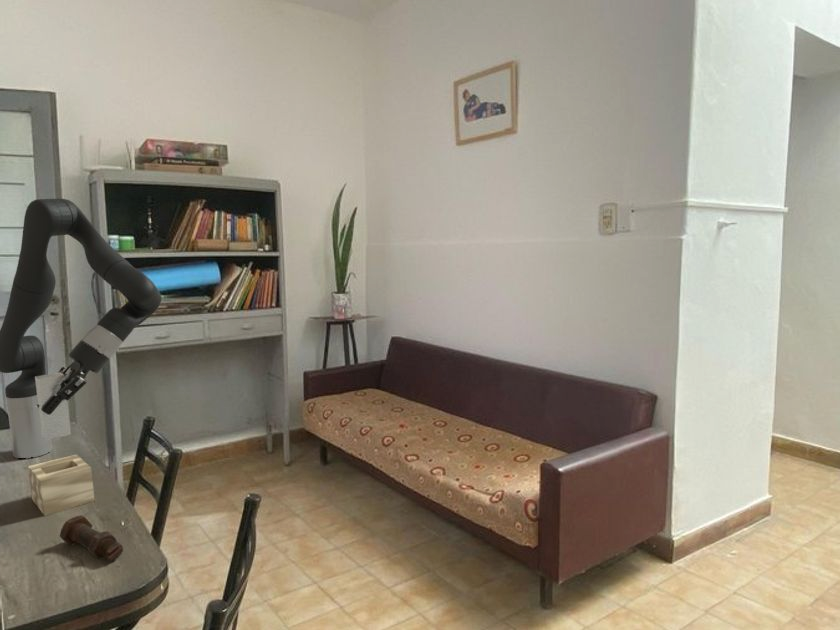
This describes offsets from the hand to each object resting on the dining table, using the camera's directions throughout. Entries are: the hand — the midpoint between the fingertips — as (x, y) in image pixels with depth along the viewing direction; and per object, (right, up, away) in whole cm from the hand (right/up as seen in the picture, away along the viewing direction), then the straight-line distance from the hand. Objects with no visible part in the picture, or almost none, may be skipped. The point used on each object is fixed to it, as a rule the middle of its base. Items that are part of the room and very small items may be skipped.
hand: (43, 410), depth 134 cm
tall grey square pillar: (+2, -6, +2) cm, 7 cm away
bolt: (+22, -25, -18) cm, 38 cm away
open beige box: (+2, -21, +4) cm, 22 cm away
